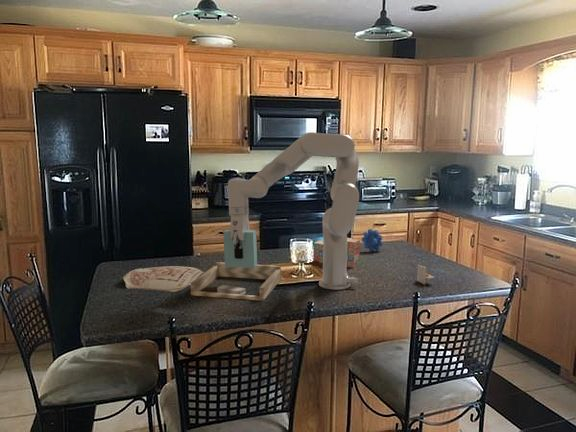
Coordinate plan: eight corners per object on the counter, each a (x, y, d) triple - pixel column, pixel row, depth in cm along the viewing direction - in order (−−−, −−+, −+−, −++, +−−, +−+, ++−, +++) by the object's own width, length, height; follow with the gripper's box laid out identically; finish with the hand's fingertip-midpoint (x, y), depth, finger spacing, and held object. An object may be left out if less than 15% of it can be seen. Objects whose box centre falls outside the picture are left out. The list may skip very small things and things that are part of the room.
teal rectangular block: (257, 265, 192) (256, 230, 189) (254, 267, 188) (253, 232, 186) (228, 264, 195) (226, 229, 192) (224, 266, 191) (223, 231, 188)
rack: (281, 282, 200) (281, 265, 199) (263, 304, 175) (263, 285, 174) (216, 277, 207) (216, 261, 205) (190, 298, 181) (190, 280, 180)
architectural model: (423, 280, 204) (424, 263, 203) (433, 285, 197) (434, 268, 196) (416, 281, 203) (417, 264, 202) (426, 286, 196) (427, 268, 195)
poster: (116, 296, 194) (186, 298, 188) (113, 281, 193) (184, 283, 187) (148, 271, 221) (211, 273, 215) (147, 258, 219) (210, 259, 213)
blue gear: (364, 254, 247) (365, 230, 245) (359, 251, 253) (360, 228, 251) (385, 252, 250) (386, 229, 248) (380, 249, 256) (381, 227, 254)
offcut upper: (245, 293, 183) (245, 288, 182) (240, 296, 179) (240, 291, 179) (223, 289, 187) (222, 284, 186) (217, 292, 183) (217, 287, 183)
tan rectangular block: (312, 261, 233) (313, 236, 231) (319, 258, 238) (319, 234, 236) (353, 268, 222) (354, 241, 220) (359, 265, 227) (360, 239, 225)
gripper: (241, 214, 179) (243, 262, 182) (254, 207, 195) (256, 252, 198) (222, 214, 180) (224, 262, 183) (236, 207, 196) (238, 251, 200)
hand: (240, 256), depth 191 cm, fingers closed on teal rectangular block, 4 cm apart
